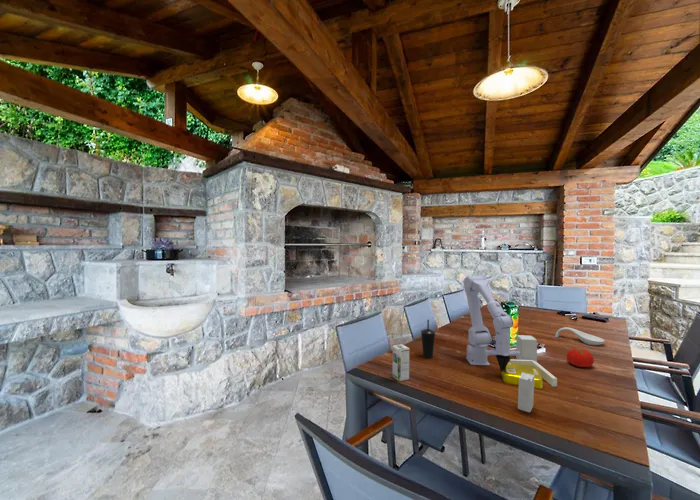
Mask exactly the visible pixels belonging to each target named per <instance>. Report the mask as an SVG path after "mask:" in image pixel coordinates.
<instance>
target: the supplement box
mask: <svg viewBox="0 0 700 500" xmlns="http://www.w3.org/2000/svg"><path fill="white" fill-rule="evenodd" d="M516 351H519V352H520V357H518V356H515V357H516V358H515V359H516V360H533V361H536V362H537V363H538V340H537V339H536V337H534V336H533V335H523V334H521V335H519V334H517V335H516Z"/></svg>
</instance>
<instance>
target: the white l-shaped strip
mask: <svg viewBox="0 0 700 500" xmlns="http://www.w3.org/2000/svg"><path fill="white" fill-rule="evenodd" d="M509 363H516V364H523V365H530V366H535V367H537V368H538V369H539V372H540V374H541V376H542V379H544V381H545V382H547V383H548V384H549V385H550V386H551V387H558V378H557V377H556V376H554V374H552V373H551V372H550V371H548V370H547V369H546V368H544V366H542V365H541V364H540V363H538V361H537V362H536V361H533V360H518V359H516V358H515V359H514V358H512V359H511V358H510V361H509Z"/></svg>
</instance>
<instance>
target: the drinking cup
mask: <svg viewBox="0 0 700 500" xmlns="http://www.w3.org/2000/svg"><path fill="white" fill-rule="evenodd" d="M429 321H430V320H429V319H427V323H426V325H427V327H426V328H425V329H421V330H420V334H421V344H422V355H423V358H424V359H433V357H434V346H435V337H436V331H435V330H434V329H431V328H430V322H429Z"/></svg>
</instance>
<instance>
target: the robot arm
mask: <svg viewBox="0 0 700 500" xmlns="http://www.w3.org/2000/svg"><path fill="white" fill-rule="evenodd" d="M488 285H489V281H488V280H487V277H486V276H485V275H471V276H470V275H466V276H465V278H464V280H463V286H464V293H466V294H465V295H466V298H467V299H466V301H467V304H468V310H469V316H470V320H471V321H470V322H471V326H470V328H469V329H468V330H467V331H468V337H467V338H468V342H469V343H470V344H467V345H466V358H465V359H466V360H467V362H468V363H469V364H470V365H471V366H491V363H489V361H488V357H489V356H495V359H496V360H497V363H498V365H499V370H500V372H501V373H502V372H503V369H506V366H507V364H508V362H509V361H510V359H511V357H516V356H518V357H520V352H519V351H517V350H512V349H511V344H510V343H511V328H512V327H513V326H514V321H513V318H512V316H511V315H509V314H508V313H507V312H505V311H504V309H503V307H502V306H501V304H500V302H499V301H496V300H495V299H494V297H493V295H492V293H491V291H490V288H489V287H488ZM479 294H480V295H481V297H482V298H483V299H484V301H485V302H486V303H487V306H486V307H487V308H486V309H487V310H488V311H489V314H490V315H491V317H492V319H493V320H492V323H493V326H494V332H495V349H494V348H493V349H488V346H489V345H490V344H491V342H492V336H491V334H490V330H489V328H488V327H486V326H485V325H484V322H483V321H484V320H483V317H482V311H481V306H480V302H479V296H478V295H479ZM489 347H490V346H489Z"/></svg>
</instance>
